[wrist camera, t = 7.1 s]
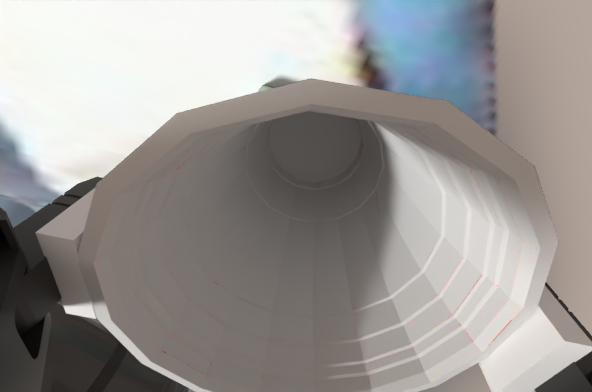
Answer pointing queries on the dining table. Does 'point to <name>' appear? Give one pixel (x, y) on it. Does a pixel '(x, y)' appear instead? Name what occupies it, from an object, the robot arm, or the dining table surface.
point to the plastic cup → (317, 243)
